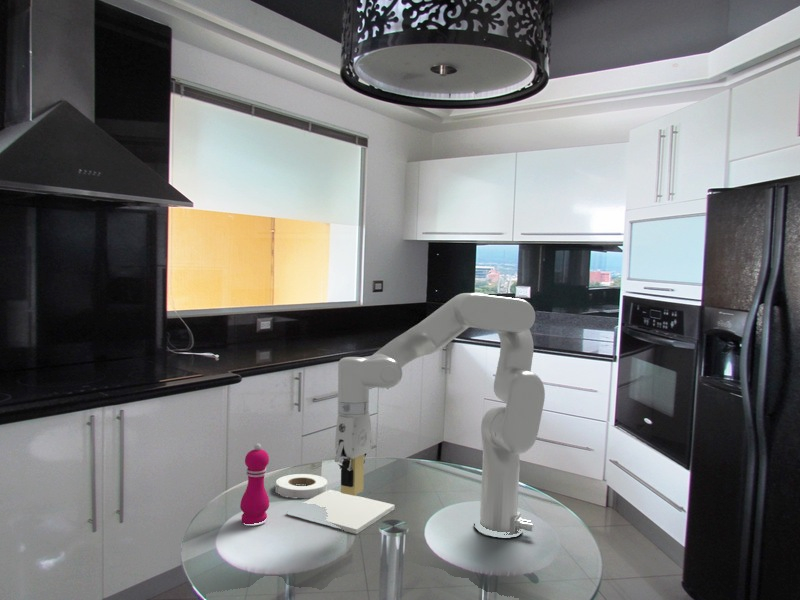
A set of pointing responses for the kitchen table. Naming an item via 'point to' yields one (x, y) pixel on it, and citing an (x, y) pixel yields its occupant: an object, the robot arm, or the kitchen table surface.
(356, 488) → the block
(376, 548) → the kitchen table surface
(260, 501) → the pepper mill
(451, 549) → the kitchen table surface
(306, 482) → the object
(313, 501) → the board
